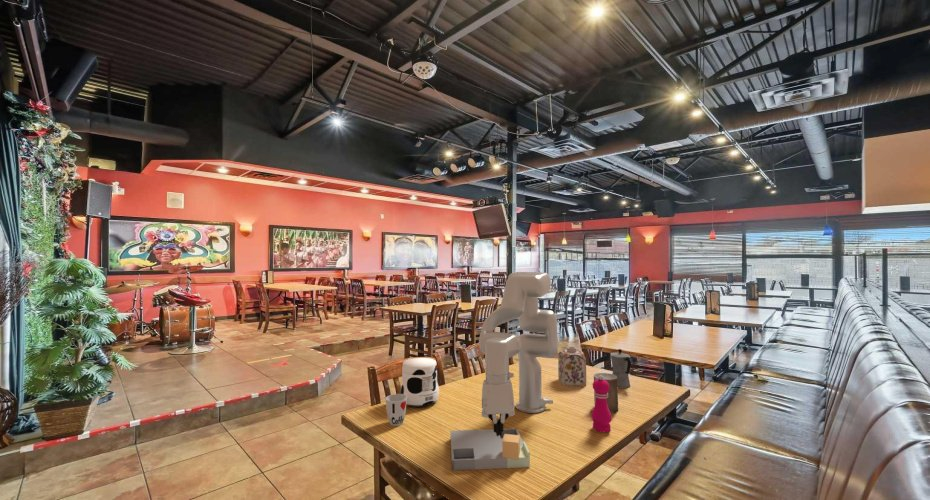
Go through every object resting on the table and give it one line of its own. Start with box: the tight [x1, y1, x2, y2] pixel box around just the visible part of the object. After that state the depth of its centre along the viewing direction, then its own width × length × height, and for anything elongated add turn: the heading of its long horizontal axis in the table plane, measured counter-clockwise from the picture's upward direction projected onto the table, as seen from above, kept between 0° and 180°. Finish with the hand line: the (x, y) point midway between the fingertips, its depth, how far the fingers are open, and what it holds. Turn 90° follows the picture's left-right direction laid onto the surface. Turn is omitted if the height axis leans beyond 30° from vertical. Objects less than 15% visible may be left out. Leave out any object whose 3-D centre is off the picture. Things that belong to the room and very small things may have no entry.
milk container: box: [399, 357, 440, 408], centre depth 172 cm, size 17×17×18 cm
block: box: [502, 434, 521, 459], centre depth 120 cm, size 5×5×5 cm
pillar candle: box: [593, 372, 619, 413], centre depth 164 cm, size 10×10×15 cm
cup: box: [385, 393, 407, 427], centre depth 150 cm, size 8×8×10 cm
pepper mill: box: [591, 375, 613, 433], centre depth 144 cm, size 7×7×20 cm
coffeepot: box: [610, 348, 632, 389], centre depth 192 cm, size 15×9×18 cm, turn 9°
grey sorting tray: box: [450, 428, 531, 471], centre depth 128 cm, size 24×20×4 cm
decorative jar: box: [557, 346, 587, 387], centre depth 198 cm, size 12×12×18 cm
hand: (498, 433), depth 123 cm, fingers closed
